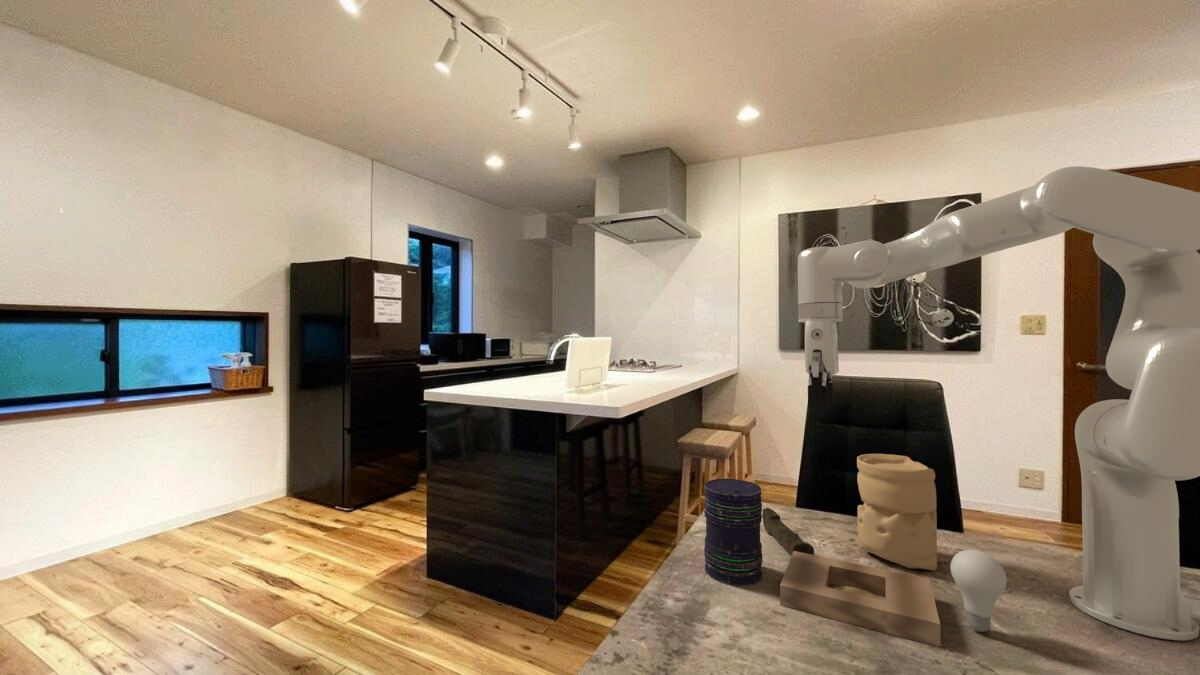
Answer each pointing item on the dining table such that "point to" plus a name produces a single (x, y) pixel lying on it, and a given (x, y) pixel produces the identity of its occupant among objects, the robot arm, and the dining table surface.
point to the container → (897, 510)
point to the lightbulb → (978, 585)
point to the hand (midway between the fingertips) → (821, 405)
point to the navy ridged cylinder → (733, 531)
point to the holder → (862, 596)
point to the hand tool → (784, 533)
